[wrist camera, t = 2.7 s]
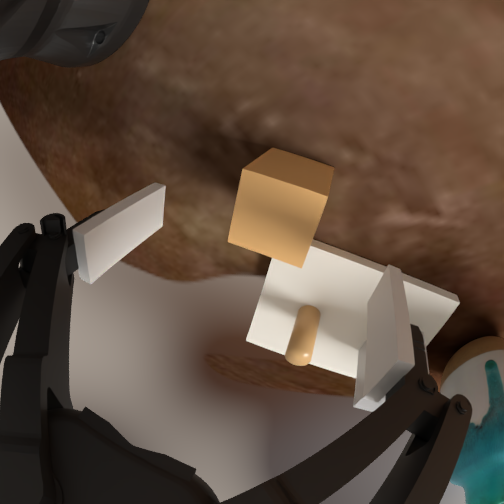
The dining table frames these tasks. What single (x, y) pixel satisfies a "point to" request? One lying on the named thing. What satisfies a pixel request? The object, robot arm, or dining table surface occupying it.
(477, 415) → the vase
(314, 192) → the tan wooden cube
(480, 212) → the dining table surface
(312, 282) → the plate
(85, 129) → the dining table surface
